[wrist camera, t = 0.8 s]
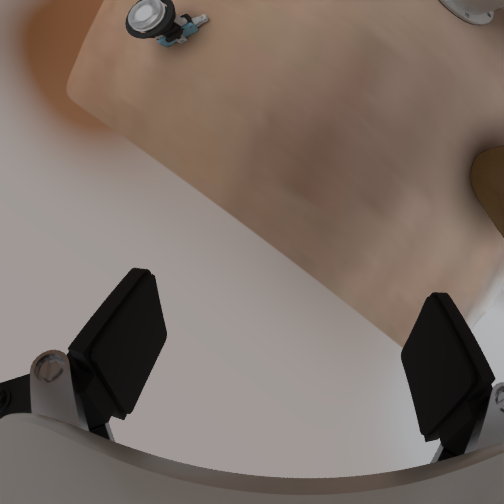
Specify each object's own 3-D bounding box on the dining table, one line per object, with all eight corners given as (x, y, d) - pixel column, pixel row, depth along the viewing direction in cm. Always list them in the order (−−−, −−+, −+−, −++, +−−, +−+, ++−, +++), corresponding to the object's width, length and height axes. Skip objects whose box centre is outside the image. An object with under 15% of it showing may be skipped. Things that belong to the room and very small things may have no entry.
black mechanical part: (201, 5, 23) (171, -24, 15) (216, 35, 26) (189, 10, 17) (156, 29, 25) (115, 11, 17) (169, 59, 27) (129, 45, 19)
